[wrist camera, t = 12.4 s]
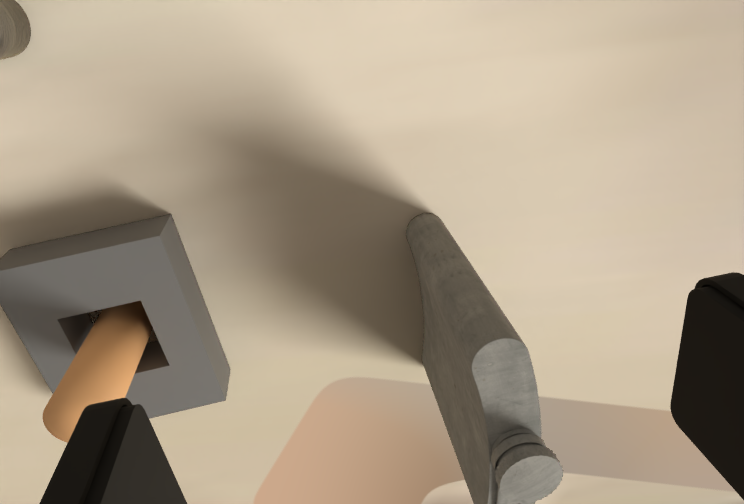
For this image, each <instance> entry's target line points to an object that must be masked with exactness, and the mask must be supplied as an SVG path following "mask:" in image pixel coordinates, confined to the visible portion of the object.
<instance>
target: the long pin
mask: <svg viewBox="0 0 744 504" xmlns="http://www.w3.org/2000/svg"><path fill="white" fill-rule="evenodd" d="M152 329H153V327H152V325H151V323H150V320H149V318H148V316H147V314H146V311H145V309H144V307H143V305H142V302H141V301H136V302H132V303H127V304H123V305H118V306H114V307H110V308H105V309H103V310H102V311H101V313H100V315H99V316H98V318H97V320H96V322H95V323H94V325H93V327H92V328H91V330H90V332H89V334H88V335H87V337H86V339H85V340H84V342H83V344H82V346H81V347H80V349H79V351H78V352H77V354H76V356H75V358H74V359H73V361H72V363H71V364H70V366H69V368H68V370H67V371H66V373H65V375H64V376H63V378H62V380H61V382H60V383H59V385H58V387H57V388H56V390H55V392H54V394H53V395H52V397H51V399H50V400H49V402H48V404H47V405H46V407H45V409H44V412H43V422H44V425H45V427H46V428H47V430H48V431H49V432H50V433H51V434H52V435H53V436H55V437H56V438H58V439H60V440H62V441H65V442H68V441H69V439H70V437H71V435H72V433H73V431H74V429H75V426H76V424H77V422H78V420H79V418H80V416H81V414H82V412H83V410H84V409H85V407H86V406H88V405H90V404H95V403H100V402H105V401H110V400H115V399H120V398H125V396H126V394H127V391H128V389H129V386H130V384H131V381H132V379H133V376H134V374H135V371H136V369H137V366H138V364H139V361H140V359H141V356H142V354H143V351H144V349H145V346H146V344H147V342H148V339H149V337H150V334H151V332H152Z"/></svg>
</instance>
